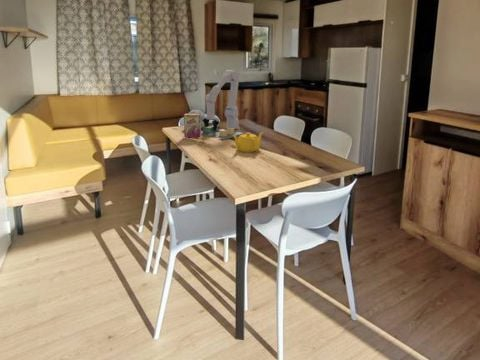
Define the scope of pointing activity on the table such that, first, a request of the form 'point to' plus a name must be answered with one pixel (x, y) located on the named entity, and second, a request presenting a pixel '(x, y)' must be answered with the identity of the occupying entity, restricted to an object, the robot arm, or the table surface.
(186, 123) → the candy bar box
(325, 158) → the table surface
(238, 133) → the board
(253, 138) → the teapot
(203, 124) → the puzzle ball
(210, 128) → the beam
